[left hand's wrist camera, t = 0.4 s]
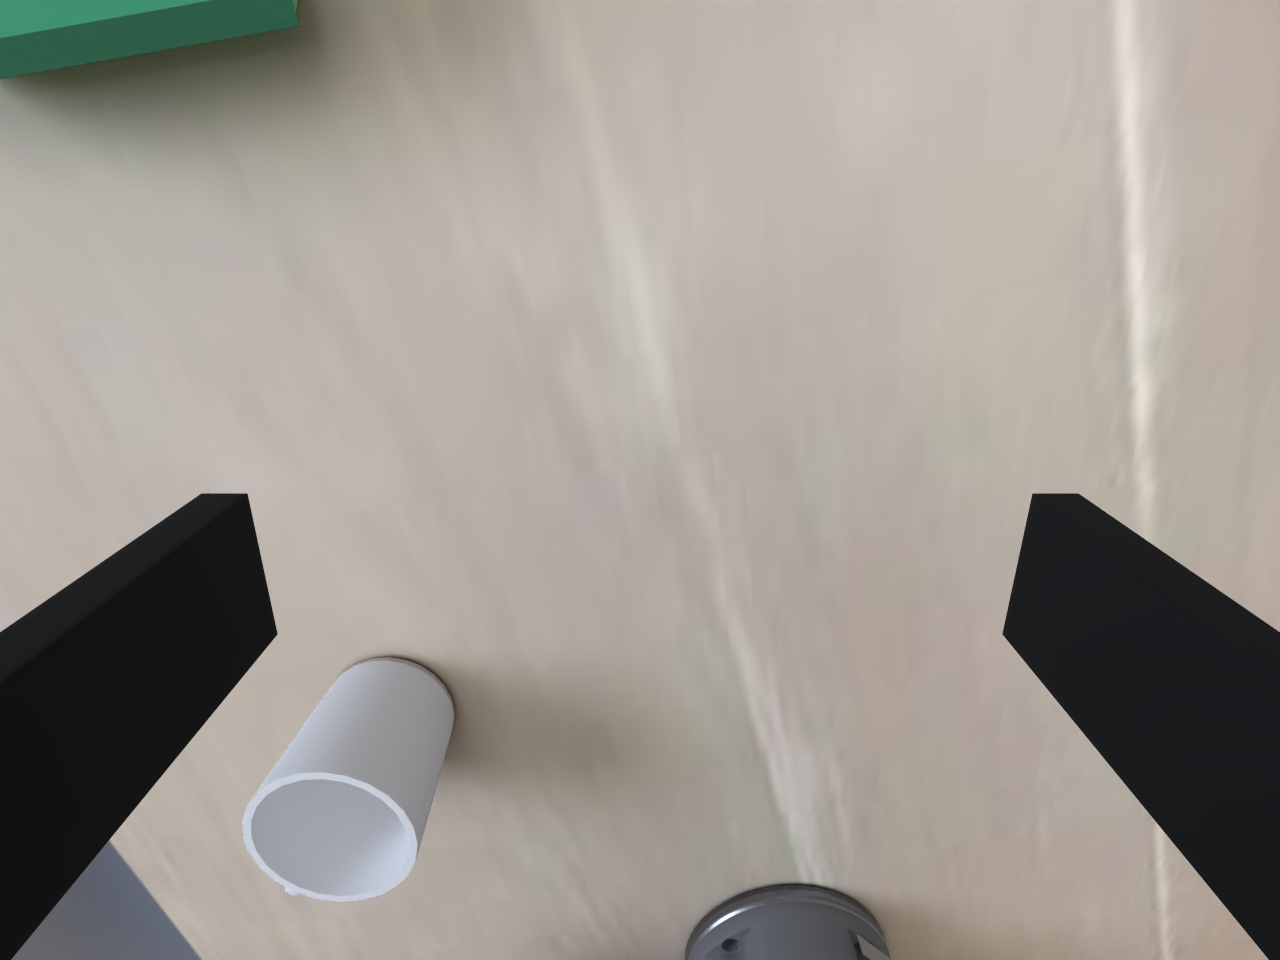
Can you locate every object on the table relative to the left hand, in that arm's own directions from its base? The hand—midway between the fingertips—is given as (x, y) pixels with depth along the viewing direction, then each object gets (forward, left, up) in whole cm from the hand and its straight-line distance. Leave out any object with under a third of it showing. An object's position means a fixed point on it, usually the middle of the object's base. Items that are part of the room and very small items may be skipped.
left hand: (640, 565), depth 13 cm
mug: (-26, +16, -27) cm, 41 cm away
